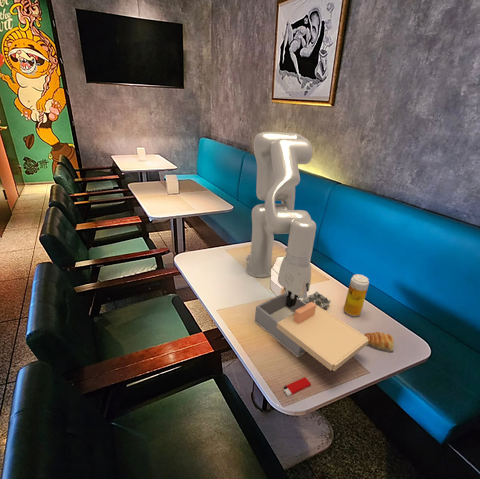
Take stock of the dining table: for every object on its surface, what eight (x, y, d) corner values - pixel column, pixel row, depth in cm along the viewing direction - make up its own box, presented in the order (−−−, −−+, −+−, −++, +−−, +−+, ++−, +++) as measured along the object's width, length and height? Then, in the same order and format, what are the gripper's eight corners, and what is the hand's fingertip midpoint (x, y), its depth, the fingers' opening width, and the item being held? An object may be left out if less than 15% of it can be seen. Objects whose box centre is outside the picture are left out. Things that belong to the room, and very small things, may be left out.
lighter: (311, 384, 82) (287, 395, 79) (310, 387, 83) (287, 398, 79) (304, 376, 85) (281, 386, 81) (304, 379, 85) (280, 389, 82)
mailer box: (254, 321, 106) (256, 306, 103) (285, 305, 115) (288, 291, 112) (297, 357, 92) (300, 340, 89) (329, 336, 101) (333, 320, 98)
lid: (276, 327, 95) (278, 312, 93) (312, 307, 106) (315, 293, 103) (332, 372, 80) (337, 355, 78) (368, 344, 91) (373, 328, 89)
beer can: (339, 309, 115) (348, 275, 109) (352, 305, 118) (361, 272, 111) (351, 318, 110) (360, 284, 104) (363, 315, 113) (373, 281, 106)
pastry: (363, 348, 97) (366, 339, 96) (359, 334, 103) (362, 325, 102) (394, 353, 96) (397, 344, 94) (388, 339, 102) (391, 330, 101)
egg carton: (314, 318, 110) (316, 309, 108) (298, 307, 115) (299, 298, 113) (331, 307, 116) (333, 298, 114) (315, 298, 121) (317, 289, 120)
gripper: (272, 250, 97) (266, 298, 104) (309, 271, 86) (300, 322, 94) (288, 245, 101) (282, 291, 109) (325, 264, 91) (315, 313, 98)
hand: (290, 305), depth 101 cm, fingers closed
